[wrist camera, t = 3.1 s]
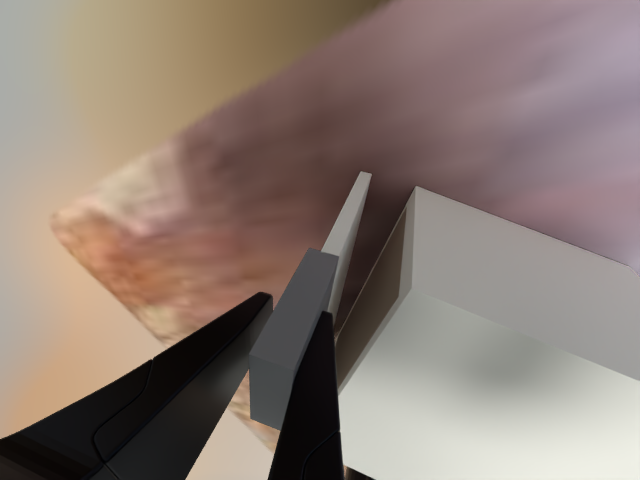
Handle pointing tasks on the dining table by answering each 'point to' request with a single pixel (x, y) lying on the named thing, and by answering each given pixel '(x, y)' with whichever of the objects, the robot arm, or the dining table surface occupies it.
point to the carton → (489, 355)
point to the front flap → (302, 313)
